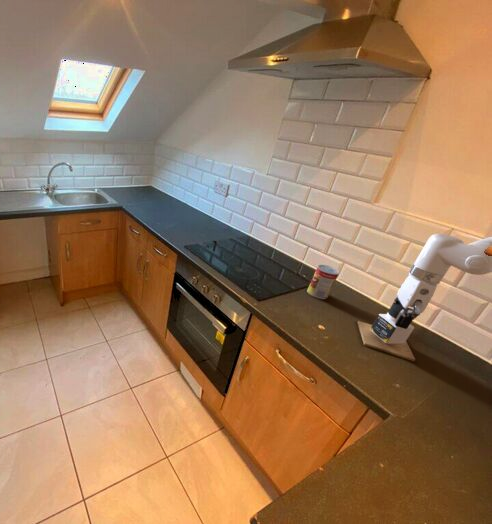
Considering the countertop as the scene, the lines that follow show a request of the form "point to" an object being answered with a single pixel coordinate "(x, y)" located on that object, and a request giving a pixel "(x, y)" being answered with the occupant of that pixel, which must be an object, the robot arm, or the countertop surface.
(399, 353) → the cork mat
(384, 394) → the countertop surface
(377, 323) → the medicine bottle
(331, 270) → the canned food
